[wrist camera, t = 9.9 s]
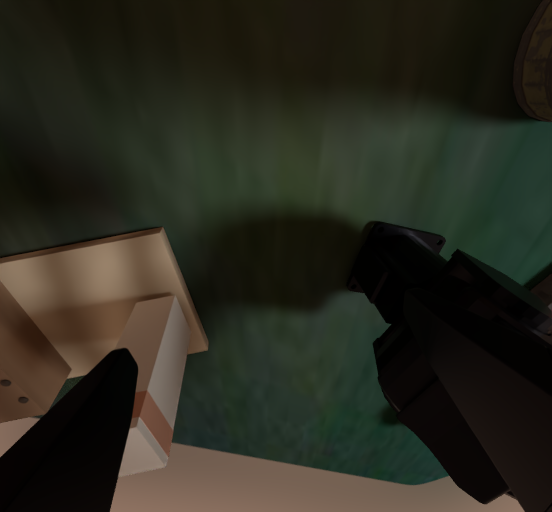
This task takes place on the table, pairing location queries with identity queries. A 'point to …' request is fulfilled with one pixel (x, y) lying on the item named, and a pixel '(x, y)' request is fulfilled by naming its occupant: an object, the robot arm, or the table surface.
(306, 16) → the table surface
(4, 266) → the stand
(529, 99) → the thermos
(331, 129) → the table surface
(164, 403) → the stub
